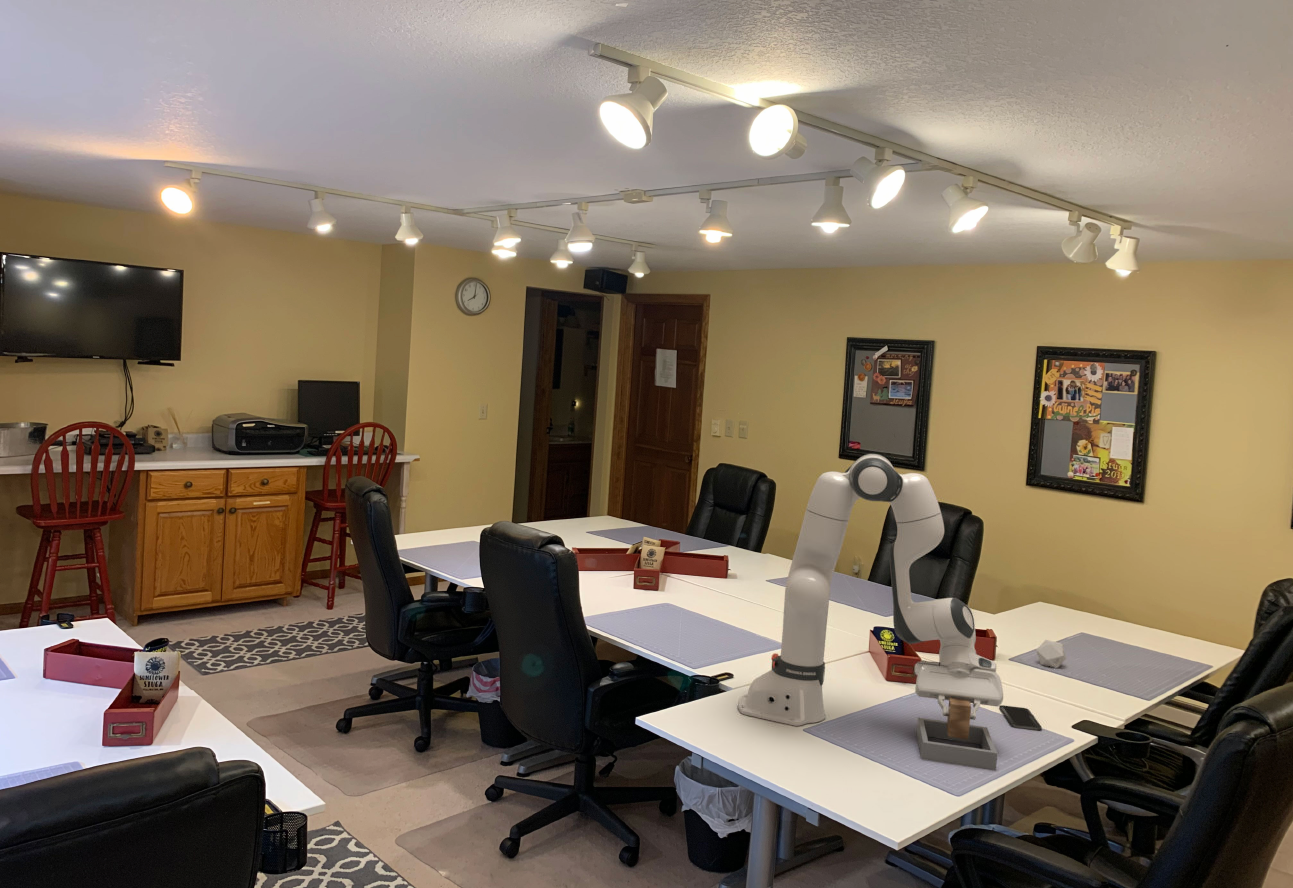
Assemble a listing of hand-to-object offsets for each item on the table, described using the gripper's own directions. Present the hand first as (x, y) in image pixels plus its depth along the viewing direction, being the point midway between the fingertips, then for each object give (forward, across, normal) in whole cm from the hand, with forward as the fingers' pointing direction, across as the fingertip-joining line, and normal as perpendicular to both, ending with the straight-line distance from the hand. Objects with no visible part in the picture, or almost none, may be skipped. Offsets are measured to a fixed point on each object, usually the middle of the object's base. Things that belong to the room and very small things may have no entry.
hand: (959, 716), depth 218 cm
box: (+6, 0, +7) cm, 9 cm away
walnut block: (+3, 0, +4) cm, 5 cm away
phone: (-15, +20, +28) cm, 38 cm away
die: (-55, +38, +69) cm, 96 cm away
